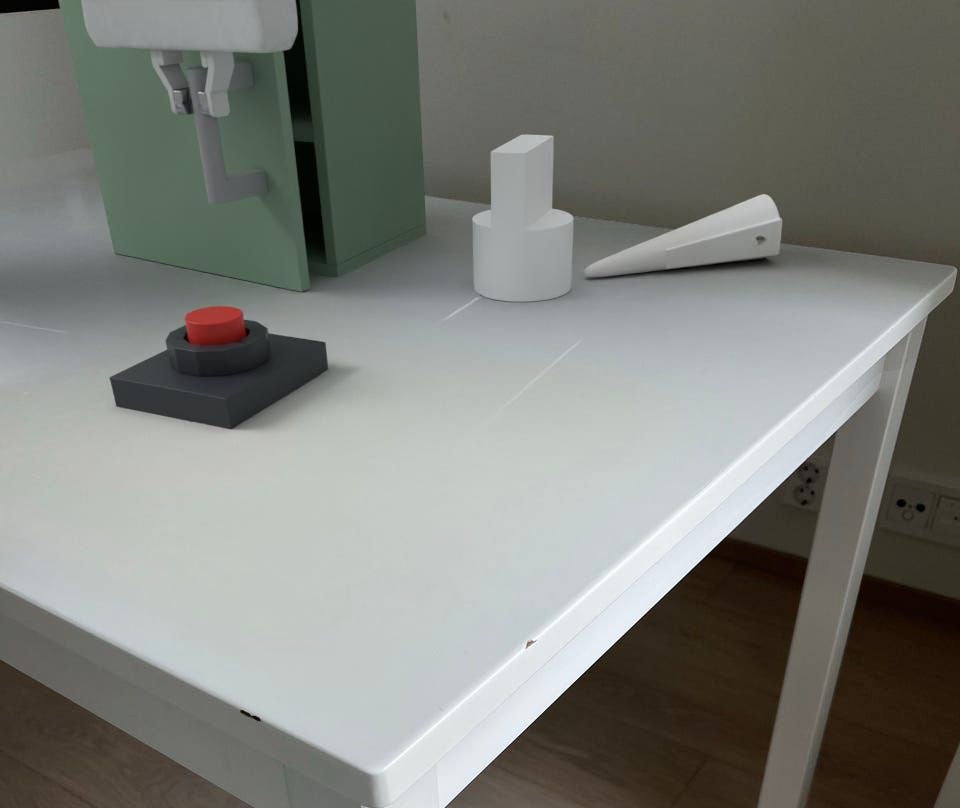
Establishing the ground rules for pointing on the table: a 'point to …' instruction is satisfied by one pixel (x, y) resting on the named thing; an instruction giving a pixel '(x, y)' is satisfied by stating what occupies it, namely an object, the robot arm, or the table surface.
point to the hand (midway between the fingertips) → (201, 115)
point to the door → (193, 162)
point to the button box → (220, 376)
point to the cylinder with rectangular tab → (522, 227)
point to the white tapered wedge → (703, 242)
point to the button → (215, 325)
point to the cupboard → (356, 130)
